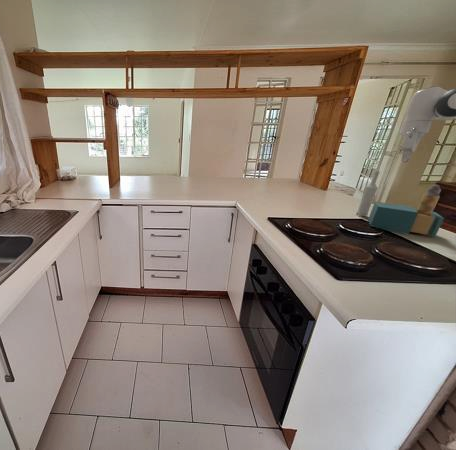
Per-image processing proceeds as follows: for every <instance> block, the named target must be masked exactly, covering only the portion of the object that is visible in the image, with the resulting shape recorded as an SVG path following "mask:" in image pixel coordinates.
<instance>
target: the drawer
mask: <svg viewBox="0 0 456 450" xmlns="http://www.w3.org/2000/svg"><path fill="white" fill-rule="evenodd" d="M415 210H416V211H417V209H415ZM444 220H445V217H444V216H442V215H440V214H439V213H437V212H435V211H433V212H432V214H431V216H427V215H420V214H418V215H417V217H416V219H415V221H414V223H413V226H412V228H411V230H410V232H409V233H416V234H421V235H429V236H430V237H432V238H436V236H437V234H438V232H439V230H440V228H441V226H442V224H443V222H444Z"/></svg>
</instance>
